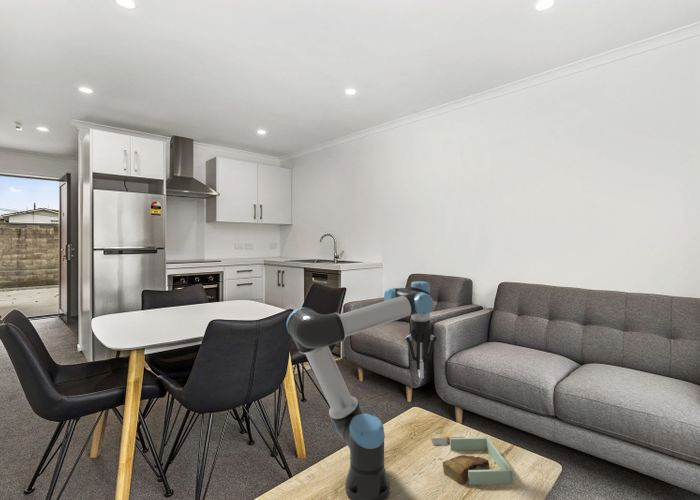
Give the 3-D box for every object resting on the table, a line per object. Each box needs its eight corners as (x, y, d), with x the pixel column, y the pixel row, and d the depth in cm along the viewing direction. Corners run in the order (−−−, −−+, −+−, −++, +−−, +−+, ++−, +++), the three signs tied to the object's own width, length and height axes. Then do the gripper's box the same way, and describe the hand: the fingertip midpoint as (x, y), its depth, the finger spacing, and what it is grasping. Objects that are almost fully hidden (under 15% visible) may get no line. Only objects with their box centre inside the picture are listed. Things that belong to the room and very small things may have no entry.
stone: (456, 486, 125) (456, 471, 125) (441, 470, 134) (441, 456, 134) (491, 476, 130) (491, 462, 130) (474, 462, 139) (474, 449, 139)
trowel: (433, 445, 150) (433, 441, 150) (431, 439, 154) (431, 436, 154) (467, 444, 150) (467, 440, 150) (463, 438, 155) (463, 435, 155)
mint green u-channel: (469, 484, 125) (469, 471, 125) (450, 448, 147) (450, 438, 147) (513, 483, 126) (513, 470, 126) (487, 448, 148) (487, 437, 148)
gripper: (406, 321, 143) (406, 380, 144) (439, 321, 144) (439, 380, 144) (403, 317, 151) (403, 374, 151) (434, 317, 151) (434, 373, 152)
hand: (421, 376), depth 148 cm, fingers closed
